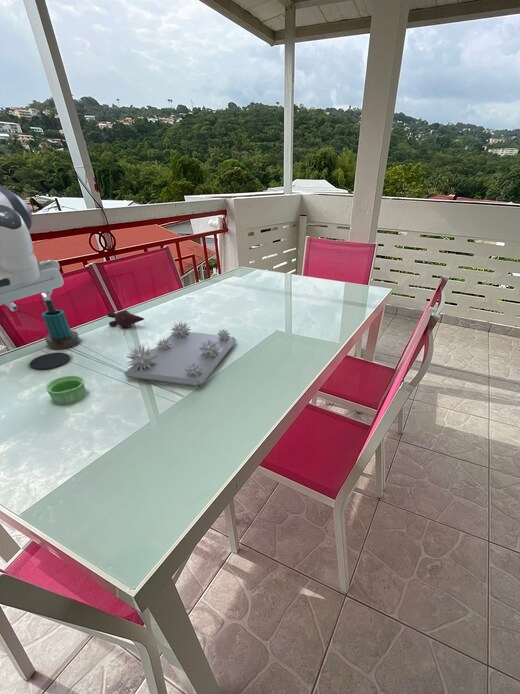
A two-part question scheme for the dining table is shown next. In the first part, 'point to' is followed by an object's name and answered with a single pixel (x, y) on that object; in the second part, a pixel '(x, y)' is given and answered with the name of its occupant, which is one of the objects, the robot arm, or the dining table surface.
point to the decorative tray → (181, 357)
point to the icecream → (123, 318)
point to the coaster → (50, 361)
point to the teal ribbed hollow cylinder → (57, 325)
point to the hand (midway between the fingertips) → (30, 303)
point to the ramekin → (66, 389)
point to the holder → (60, 343)
